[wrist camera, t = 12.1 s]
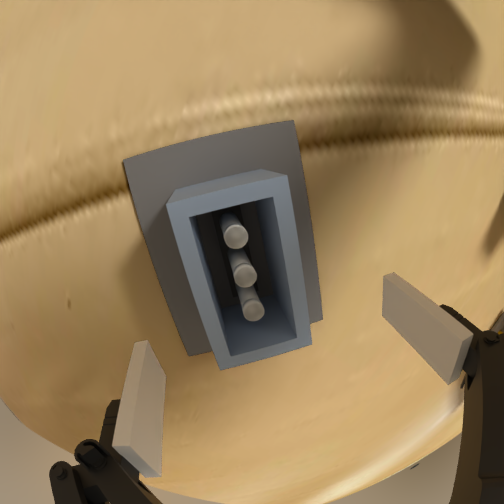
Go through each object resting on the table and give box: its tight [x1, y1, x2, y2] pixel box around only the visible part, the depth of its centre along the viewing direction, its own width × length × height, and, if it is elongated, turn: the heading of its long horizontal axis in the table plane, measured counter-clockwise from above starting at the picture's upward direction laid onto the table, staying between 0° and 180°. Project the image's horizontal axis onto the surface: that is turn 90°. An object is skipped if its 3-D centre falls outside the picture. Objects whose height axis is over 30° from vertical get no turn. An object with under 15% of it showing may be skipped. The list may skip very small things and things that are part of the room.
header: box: [123, 120, 323, 356], centre depth 25 cm, size 22×16×7 cm
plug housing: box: [166, 169, 312, 370], centre depth 24 cm, size 14×8×8 cm, turn 12°
